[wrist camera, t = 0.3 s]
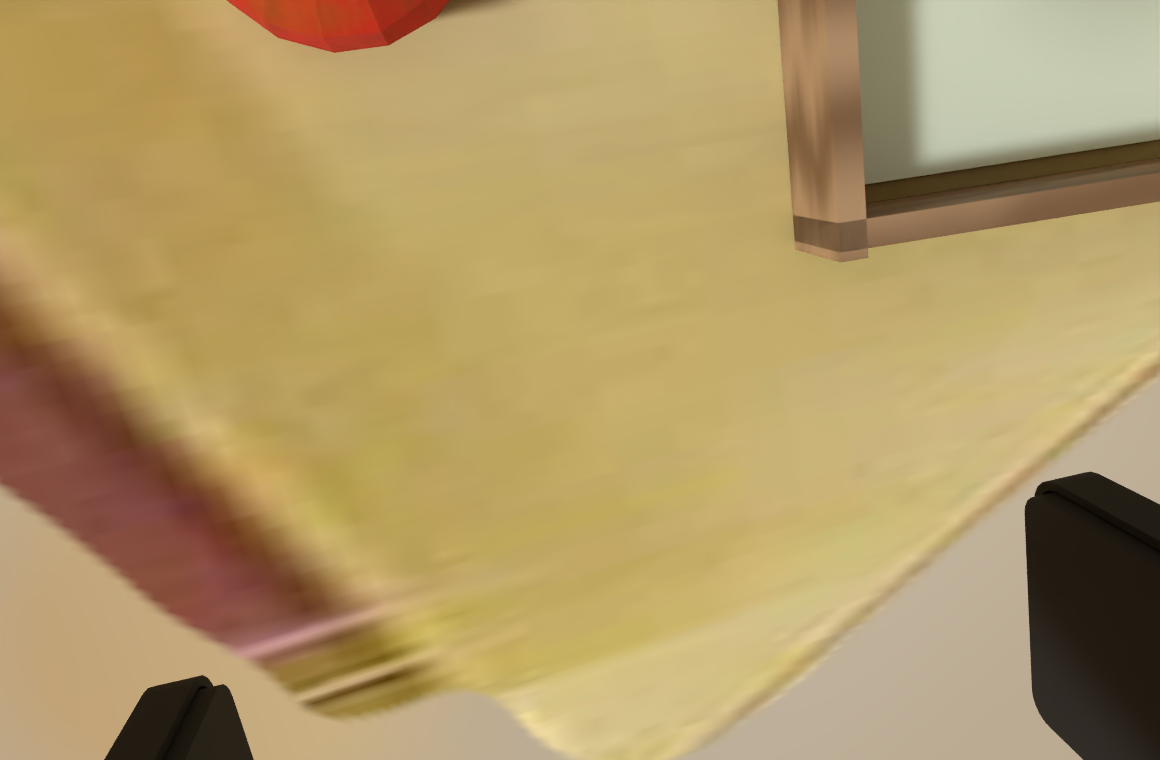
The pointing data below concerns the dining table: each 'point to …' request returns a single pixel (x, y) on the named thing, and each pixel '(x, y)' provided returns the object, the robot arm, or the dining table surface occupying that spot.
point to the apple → (341, 20)
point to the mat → (1003, 81)
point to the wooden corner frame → (836, 166)
